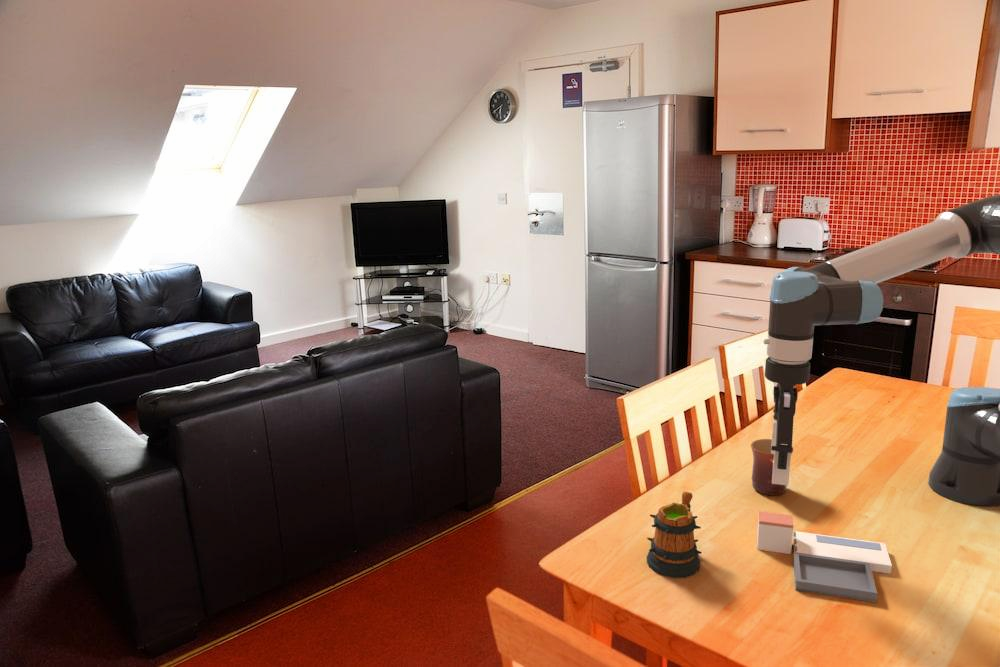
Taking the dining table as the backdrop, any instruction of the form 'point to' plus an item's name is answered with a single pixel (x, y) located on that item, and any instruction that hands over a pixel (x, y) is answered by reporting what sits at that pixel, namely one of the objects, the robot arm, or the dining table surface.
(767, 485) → the mug
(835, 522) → the dining table surface
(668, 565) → the mug
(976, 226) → the robot arm
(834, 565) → the tray
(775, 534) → the block
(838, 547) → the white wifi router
